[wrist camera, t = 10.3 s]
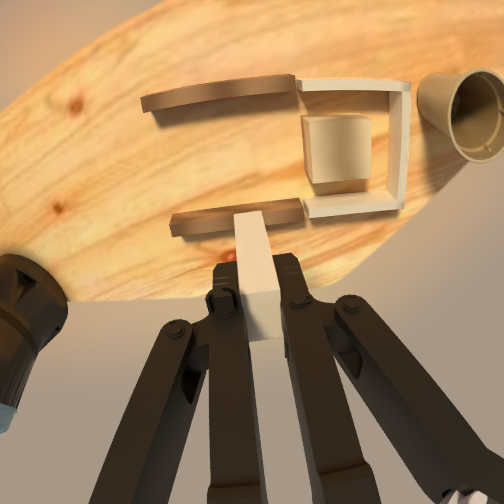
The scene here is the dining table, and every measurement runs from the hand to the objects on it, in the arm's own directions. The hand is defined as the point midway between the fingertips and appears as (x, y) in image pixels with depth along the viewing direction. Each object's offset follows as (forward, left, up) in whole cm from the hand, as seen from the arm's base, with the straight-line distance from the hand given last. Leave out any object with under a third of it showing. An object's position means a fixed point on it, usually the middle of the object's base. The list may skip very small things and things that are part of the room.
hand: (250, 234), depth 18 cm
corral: (+12, 0, -17) cm, 20 cm away
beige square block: (+9, 0, -17) cm, 19 cm away
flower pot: (+23, +5, -17) cm, 29 cm away
